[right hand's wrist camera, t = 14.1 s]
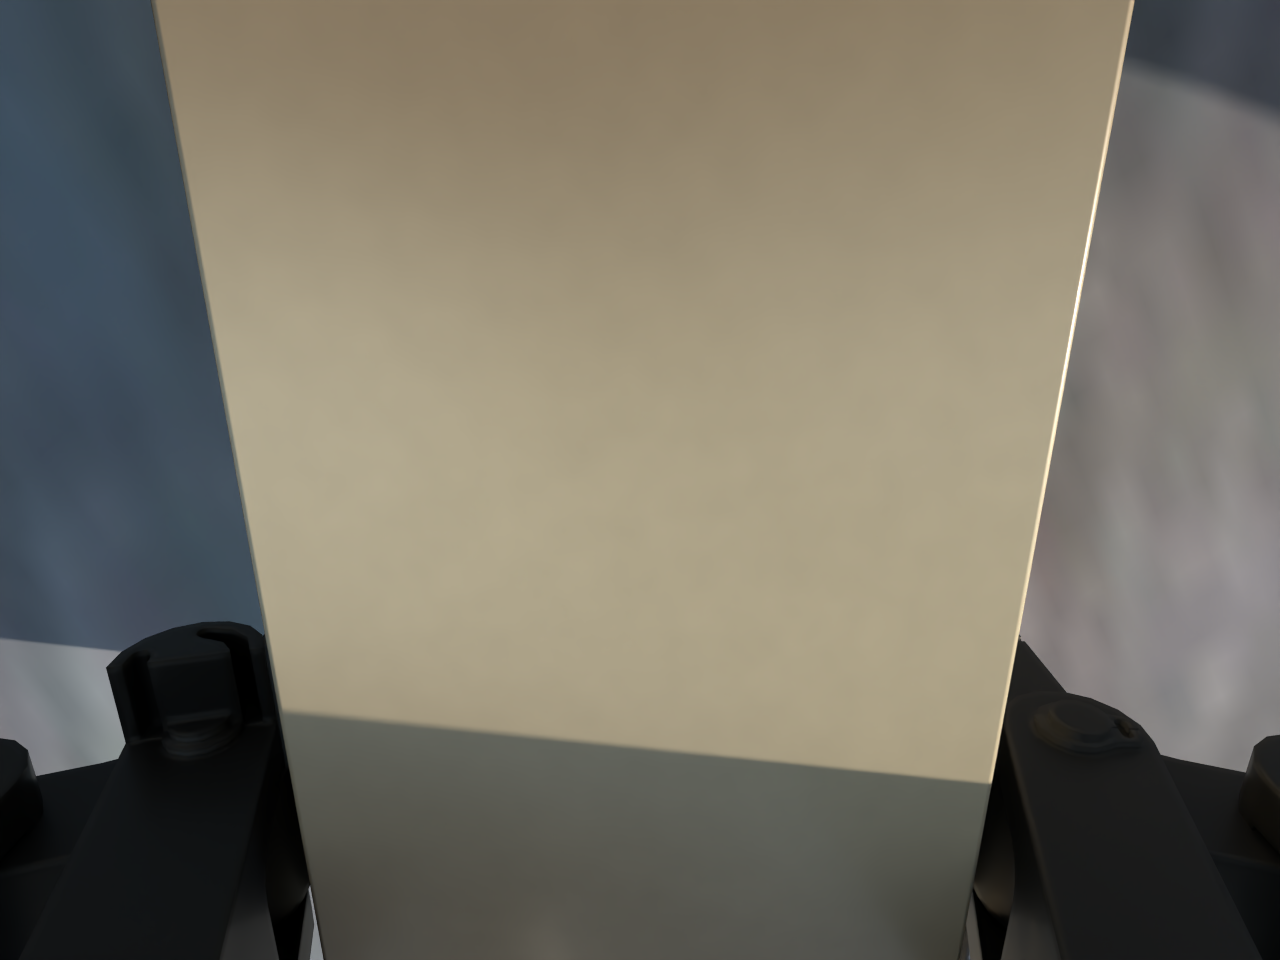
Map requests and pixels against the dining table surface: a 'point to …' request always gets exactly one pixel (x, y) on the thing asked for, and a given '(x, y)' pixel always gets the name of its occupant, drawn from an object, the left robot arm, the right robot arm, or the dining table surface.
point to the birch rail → (642, 445)
